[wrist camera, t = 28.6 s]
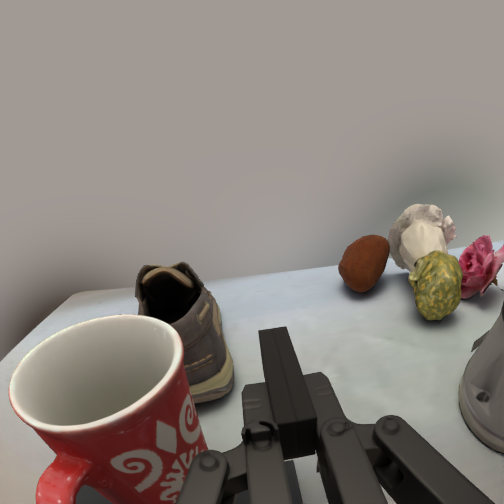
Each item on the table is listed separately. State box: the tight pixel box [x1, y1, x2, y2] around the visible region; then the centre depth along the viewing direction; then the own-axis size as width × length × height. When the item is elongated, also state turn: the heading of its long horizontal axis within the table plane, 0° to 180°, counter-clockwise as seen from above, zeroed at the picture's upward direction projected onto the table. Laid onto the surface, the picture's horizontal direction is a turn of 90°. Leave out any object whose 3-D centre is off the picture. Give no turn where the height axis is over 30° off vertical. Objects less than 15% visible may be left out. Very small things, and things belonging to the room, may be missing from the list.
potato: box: [338, 235, 390, 293], centre depth 44 cm, size 8×12×8 cm
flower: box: [459, 235, 504, 298], centre depth 34 cm, size 11×10×10 cm
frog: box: [388, 204, 465, 323], centre depth 36 cm, size 12×13×18 cm
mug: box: [8, 315, 208, 504], centre depth 11 cm, size 13×9×14 cm
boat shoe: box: [135, 262, 234, 403], centre depth 36 cm, size 11×29×11 cm, turn 21°
